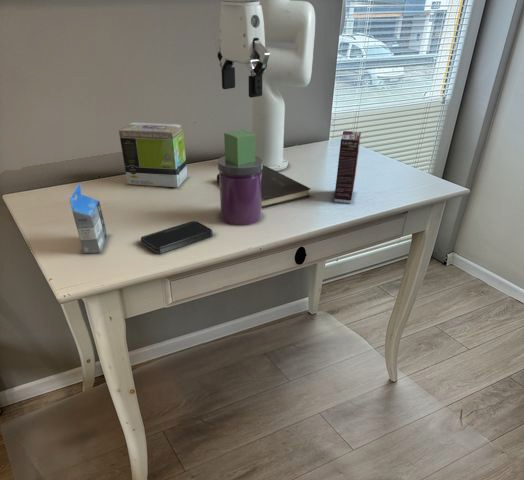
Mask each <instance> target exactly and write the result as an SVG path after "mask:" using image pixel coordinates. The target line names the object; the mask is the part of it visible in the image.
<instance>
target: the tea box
mask: <svg viewBox="0 0 524 480" xmlns="http://www.w3.org/2000/svg"><path fill="white" fill-rule="evenodd" d="M118 135H119V140H120V141H119V142H120V146H121V147H120V148H121V153H122V159H123V165H124V172H125V175H126V176H125V178H126V182H127V183H126V184H127V185H135V186H151V187H167V188H178V187H179V186H181V185H182V183H183V182H184V181H186V179H187V178H188V169H187V168H188V167H187V156H186V145H185V134H184V125H183V123H168V122H167V123H166V122H165V123H164V122H143V121H142V122H141V121H140V122H139V121H131V122H130V123H129V124H127V125H125V126H123V127H122V128H120V129H119V130H118Z"/></svg>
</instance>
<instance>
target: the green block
mask: <svg viewBox="0 0 524 480" xmlns="http://www.w3.org/2000/svg"><path fill="white" fill-rule="evenodd" d="M223 134H224V135H223V137H224V139H223V141H224V156H225V160H226V161H228V162H231V163H233V164H235V165H237V166H238V165H243V164H247V163H251V162H255V134H253V133H252V131H248V130H245V129H237V130H231V131H226V132H223Z"/></svg>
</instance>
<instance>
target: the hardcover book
mask: <svg viewBox="0 0 524 480" xmlns="http://www.w3.org/2000/svg"><path fill="white" fill-rule="evenodd" d="M261 171H262V209H264V208H269V207H272V206H276V205H281V204H284V203H290V202H293V201H297V200H302V199H307V198H309V197H310V196H311V195H310V194H309V191H310V190H311V188H310V187H308V186H306V185H305V184H303V183H301V182H298V181H297V180H295V179H293V178H290V177H289V176H286V175H285V174H283V173H281V172H279V171H275V170H273V169H271V168H269V167H267V166H265V165H263V169H262V170H261ZM216 181H217V182H218V183H220V180H219V173H218V174H217V175H216Z"/></svg>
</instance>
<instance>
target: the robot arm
mask: <svg viewBox="0 0 524 480" xmlns="http://www.w3.org/2000/svg"><path fill="white" fill-rule="evenodd" d="M315 35H316V12H315V8H314V6H313V4H311V2H309V1H305V0H220V15H219V38H218V40H217V41H215V43H214V44H215V45H214V46H215V50H216V52H217V59H218V61H219V67H220V70H221V71H220V73H221V88H222V90H230V89H235V88H236V67H235V66H234V64H235V63H238V64H241V65H246V67H247V70H248V71H249V75H248V97H249V98H251V106H252V107H251V133H253V134H255V156H257V157H260V158H261V159H262V160H263V165H265V166H267V167H269V168H271V169H273V170H275V171H277V172H279V171H283V170H285V169H287V167H288V166H289V161H288V160H287V159H286V158H284V140H285V117H286V116H285V115H286V113H285V112H286V104H285V100H284V98H283V96H282V94H281V93H280V91H279V89H278V88H292V89H293V88H294V89H300V88H306V87H307V86H308V85H309V84H310V82H311V78H312V73H313V64H314V63H313V62H314V49H315V48H314V47H315V38H316V37H315ZM266 42H268V43H281V44H282V43H283V44H284V43H286V44H295V45H296V47H280V46H266Z"/></svg>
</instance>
